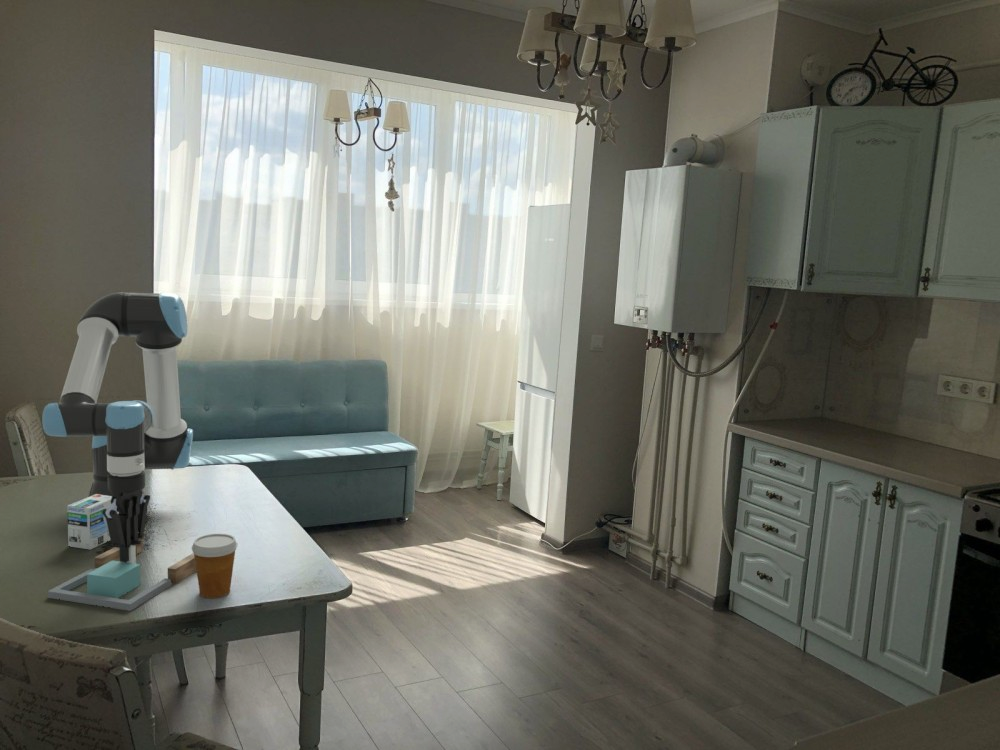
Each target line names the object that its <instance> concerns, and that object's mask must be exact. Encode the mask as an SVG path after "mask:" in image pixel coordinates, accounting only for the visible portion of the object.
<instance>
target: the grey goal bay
mask: <svg viewBox="0 0 1000 750" xmlns="http://www.w3.org/2000/svg"><path fill="white" fill-rule="evenodd" d="M95 569H97V568H95V567H92V568H90V569H88V570H86V571H84V572H82V573H80V574H78V575H76V576H74V577H72V578H70V579H69V580H67V581H65V582H63V583H61V584H59V585H57V586H55V587H54V588H51V589H49V590H47V598H48V599H54V600H59V599H60V600H59V601H65V602H72V603H76V604H77V603H78V604H79V603H80V604H85V605H90V606H91V605H92V606H96V605H97V606H96V607H102V606H104V607H103V608H108V607H110V609H115V610H120V611H121V610H122V611H128V612H132V611H133V610H135V609H136V608H138V607H139V606H141V605H143V604H144V603H146V602H147V601H149V600H151V599H152V598H154V597H156V595H158V594H160V593H161V592H163V591H165V590H166V589H168V588H169V587H171V586H172V583H171V579H168V577H167V578H163V579H161V580H159V581H158V582H156V583H155V584H153V585H152V586H150V587H148V588H147V589H144V591H141V592H140V593H138V594H137V595H135V596H134V597H132V598H130V599H122V598H111V597H105V596H99V595H92V594H87V593H84V592H81V591H80V592H78V591H73V589H75V588H77V587H80V586H81V585H82V584H85V583H87V574H88V573H90V572H92V571H94V570H95Z"/></svg>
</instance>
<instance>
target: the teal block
mask: <svg viewBox="0 0 1000 750" xmlns="http://www.w3.org/2000/svg"><path fill="white" fill-rule="evenodd" d="M86 584H87V585H86V586H87V587H86V588H87V593H86V594H92V595H99V596H105V597H111V598H118V599H120V598H121V597H123V596H124V595H126V594H128V593H130V592H131V591H133V590H134V589H135V588H138V587H139V586H141V564H140V563H136V564H134V563H127V562H120V561H113V560H112V561H110V562H109V563H107V564H105V565H103V566H101V567H99V568H97V569H95V570H94V571H92V572H90V573H88V574H87V582H86ZM127 592H128V593H127ZM122 595H123V596H122ZM120 596H121V597H120ZM119 597H120V598H119Z"/></svg>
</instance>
